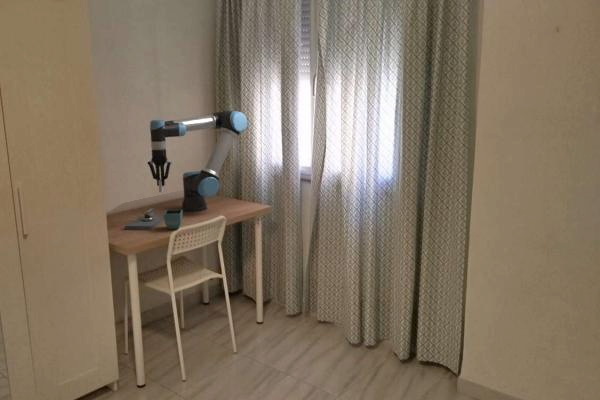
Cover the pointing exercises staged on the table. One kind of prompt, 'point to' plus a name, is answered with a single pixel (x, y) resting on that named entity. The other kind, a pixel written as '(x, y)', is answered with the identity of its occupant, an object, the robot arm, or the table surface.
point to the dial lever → (148, 215)
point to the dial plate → (143, 223)
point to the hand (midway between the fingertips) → (161, 191)
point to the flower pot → (173, 218)
